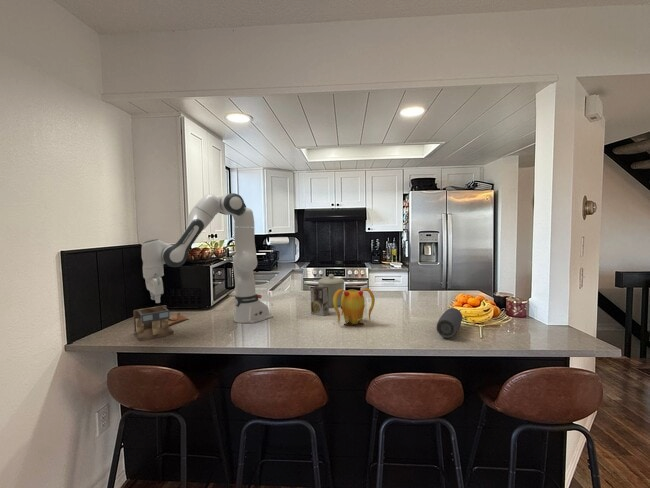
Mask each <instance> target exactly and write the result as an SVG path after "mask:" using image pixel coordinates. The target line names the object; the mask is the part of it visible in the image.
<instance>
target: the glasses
mask: <svg viewBox="0 0 650 488" xmlns="http://www.w3.org/2000/svg"><path fill="white" fill-rule="evenodd" d="M140 315H141V317H140ZM170 316H171V315H170V310H169V309H168V307H167V308H165V307H163V311H159V312H153V313H147V314H142V313H141V312H140V311H138V319H141V323H148V322H153V321H158V320H164V319H169V318H170Z"/></svg>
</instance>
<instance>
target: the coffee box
mask: <svg viewBox="0 0 650 488" xmlns="http://www.w3.org/2000/svg"><path fill="white" fill-rule="evenodd" d="M329 308H330V307H329V304H328V287H321V286H319V285H315V286H312V287H310V310H311V311H310V314H311V315H315V316H327V315H329V313H330V309H329Z"/></svg>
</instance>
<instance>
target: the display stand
mask: <svg viewBox="0 0 650 488" xmlns="http://www.w3.org/2000/svg"><path fill="white" fill-rule="evenodd" d="M163 307H165V308H167V309H168V305H167V304H166V305H159V306H153V307H145V308H139V309H134V310H133V328H134V330H133V331H134V335H135V337H136V339H139V340H138V341H139V342H143V341H147V340H151V339H156V338H161V337H165V336H170V335H174V334H175V332H174V329H172V327H171V326H168V319H164V320H158V321H153V322H148V323H141V319H138V311H140V312H141V313H142V314H147V313H153V312H159V311H163ZM140 317H141V315H140Z"/></svg>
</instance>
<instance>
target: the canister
mask: <svg viewBox="0 0 650 488" xmlns="http://www.w3.org/2000/svg"><path fill="white" fill-rule="evenodd" d="M345 281H346V280H345V279H343V278H342V277H336V276H335V275H334V273H329V274H328V277H321V278H320V279H318V280H317V283H318V286H321V287H328V304H329V308H334V305H333V297H334V294H335V292H336V291H337V290H339V289H343V290H344V286H345ZM343 292H344V291H342V292H340V294H339V296H338V300H337V306H338V307H339V306H340V307H341V297H342V294H343Z"/></svg>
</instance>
